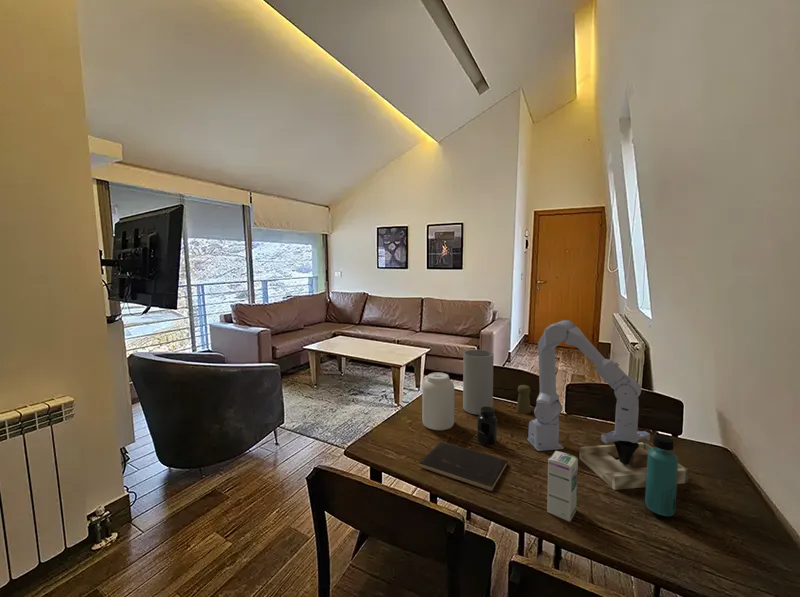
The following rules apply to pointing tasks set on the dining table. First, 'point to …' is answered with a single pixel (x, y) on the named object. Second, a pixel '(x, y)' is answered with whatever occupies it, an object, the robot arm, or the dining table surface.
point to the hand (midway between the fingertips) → (623, 463)
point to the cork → (523, 400)
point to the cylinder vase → (477, 380)
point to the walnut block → (639, 458)
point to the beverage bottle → (661, 477)
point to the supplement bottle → (487, 426)
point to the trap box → (620, 467)
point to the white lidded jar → (438, 402)
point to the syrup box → (562, 485)
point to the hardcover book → (465, 465)
